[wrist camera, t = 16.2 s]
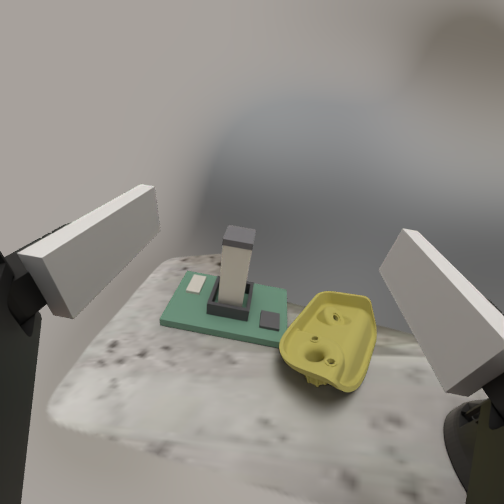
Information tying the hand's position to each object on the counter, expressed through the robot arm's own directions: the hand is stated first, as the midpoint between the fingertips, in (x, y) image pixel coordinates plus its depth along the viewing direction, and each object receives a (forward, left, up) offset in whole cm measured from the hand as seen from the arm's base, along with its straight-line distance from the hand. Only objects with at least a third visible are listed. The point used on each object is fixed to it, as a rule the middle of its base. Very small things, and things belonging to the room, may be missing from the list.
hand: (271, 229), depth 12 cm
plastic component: (-13, -12, -26) cm, 32 cm away
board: (+3, -16, -25) cm, 30 cm away
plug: (+3, -16, -24) cm, 29 cm away
